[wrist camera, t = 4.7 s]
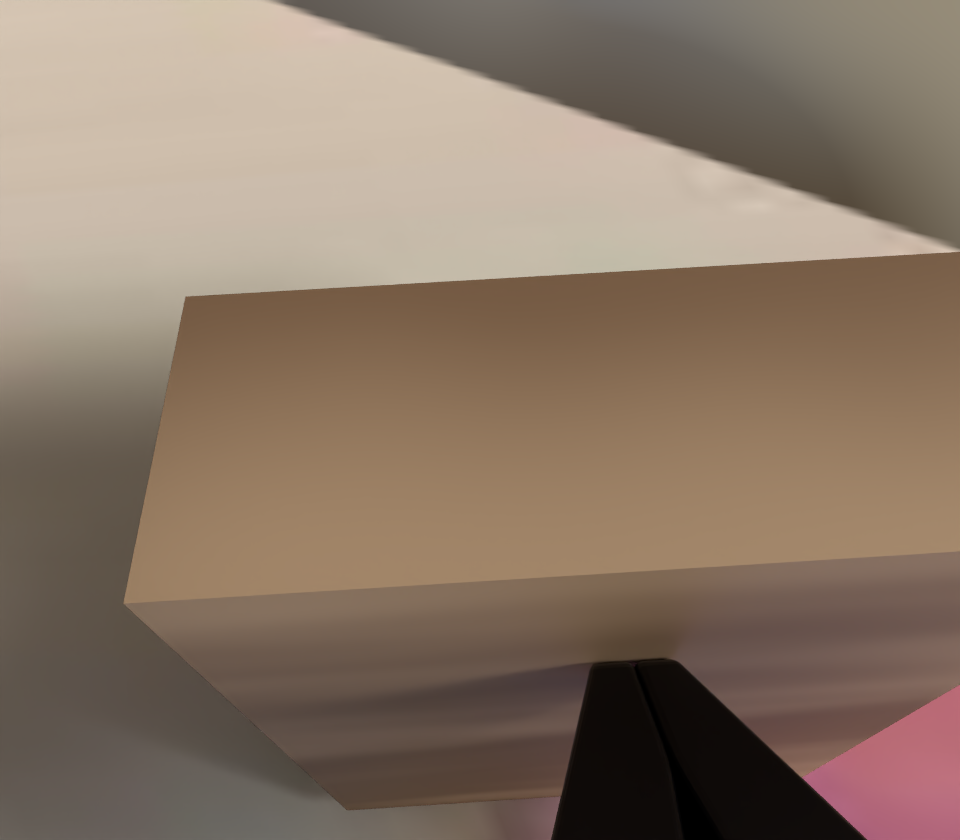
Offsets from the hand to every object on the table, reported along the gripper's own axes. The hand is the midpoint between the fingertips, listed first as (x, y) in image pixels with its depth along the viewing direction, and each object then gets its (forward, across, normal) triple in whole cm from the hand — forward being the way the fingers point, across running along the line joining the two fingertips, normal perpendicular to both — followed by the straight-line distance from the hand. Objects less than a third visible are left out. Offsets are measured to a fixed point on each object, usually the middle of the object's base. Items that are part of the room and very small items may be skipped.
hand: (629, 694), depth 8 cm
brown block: (+5, 0, +6) cm, 8 cm away
